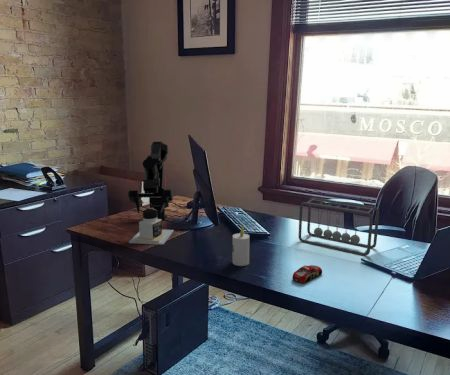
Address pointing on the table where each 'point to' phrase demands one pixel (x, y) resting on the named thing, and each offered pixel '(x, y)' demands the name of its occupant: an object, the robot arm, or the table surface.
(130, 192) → the robot arm
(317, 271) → the race car
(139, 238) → the board
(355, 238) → the newton's cradle
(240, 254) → the candle
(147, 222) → the medicine bottle
